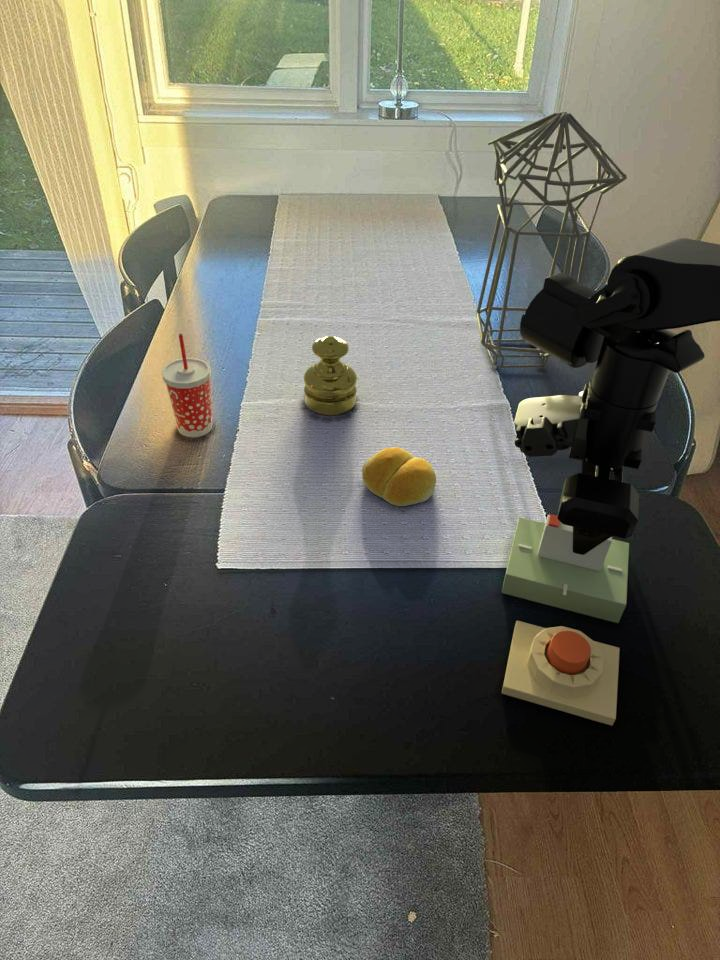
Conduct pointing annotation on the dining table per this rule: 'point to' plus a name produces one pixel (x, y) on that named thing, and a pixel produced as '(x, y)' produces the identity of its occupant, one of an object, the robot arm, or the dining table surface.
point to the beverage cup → (189, 393)
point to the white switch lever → (569, 546)
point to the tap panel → (566, 577)
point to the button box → (562, 675)
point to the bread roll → (399, 477)
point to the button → (568, 652)
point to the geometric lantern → (543, 133)
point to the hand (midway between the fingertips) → (582, 521)
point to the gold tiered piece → (330, 379)
